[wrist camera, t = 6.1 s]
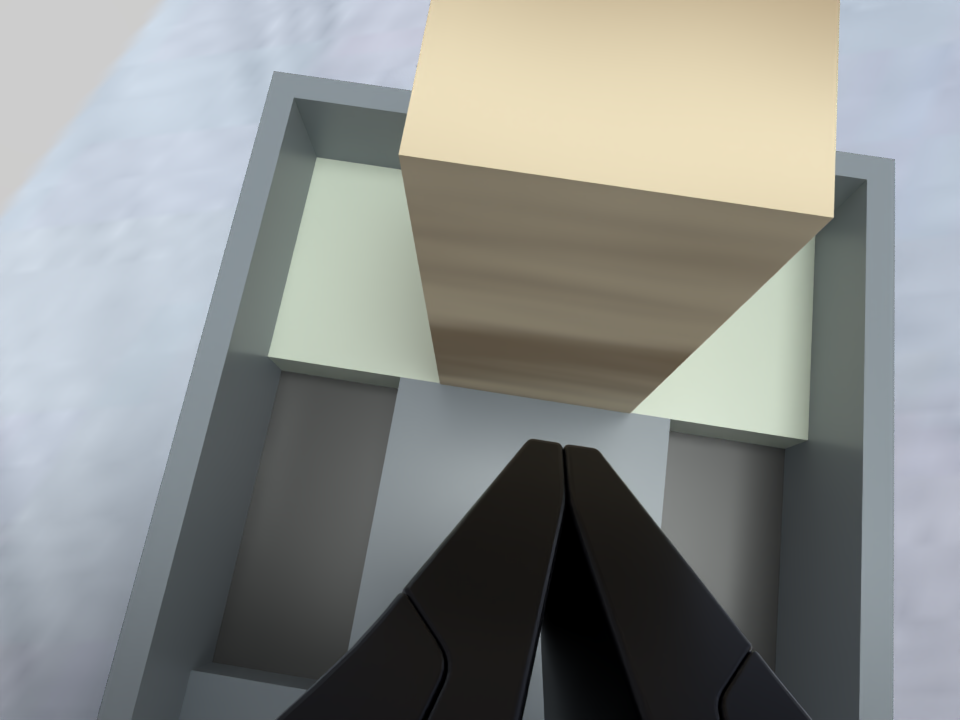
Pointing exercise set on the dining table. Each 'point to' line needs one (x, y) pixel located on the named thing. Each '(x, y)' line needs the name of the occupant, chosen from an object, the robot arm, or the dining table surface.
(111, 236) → the dining table surface
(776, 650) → the box
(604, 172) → the maple post
